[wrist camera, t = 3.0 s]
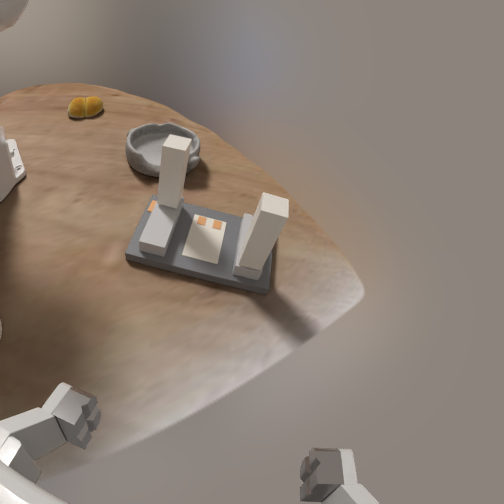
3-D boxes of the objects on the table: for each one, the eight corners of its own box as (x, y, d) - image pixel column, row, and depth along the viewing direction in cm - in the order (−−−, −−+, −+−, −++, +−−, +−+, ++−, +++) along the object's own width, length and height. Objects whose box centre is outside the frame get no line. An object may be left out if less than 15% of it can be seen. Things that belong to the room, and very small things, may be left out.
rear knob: (176, 208, 42) (185, 150, 34) (157, 203, 41) (162, 145, 34) (182, 195, 44) (191, 139, 36) (163, 190, 43) (169, 134, 36)
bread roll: (102, 117, 59) (102, 102, 56) (66, 121, 55) (65, 106, 52) (103, 103, 63) (104, 89, 60) (71, 106, 59) (70, 92, 56)
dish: (205, 178, 54) (210, 156, 50) (129, 186, 48) (130, 163, 44) (186, 137, 61) (189, 117, 57) (122, 142, 55) (123, 121, 51)
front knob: (260, 270, 39) (288, 217, 32) (238, 264, 39) (261, 210, 31) (262, 252, 41) (288, 199, 34) (241, 247, 41) (263, 192, 33)
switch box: (266, 294, 42) (274, 281, 39) (125, 259, 39) (124, 243, 36) (271, 232, 50) (278, 217, 47) (152, 201, 47) (153, 185, 44)
